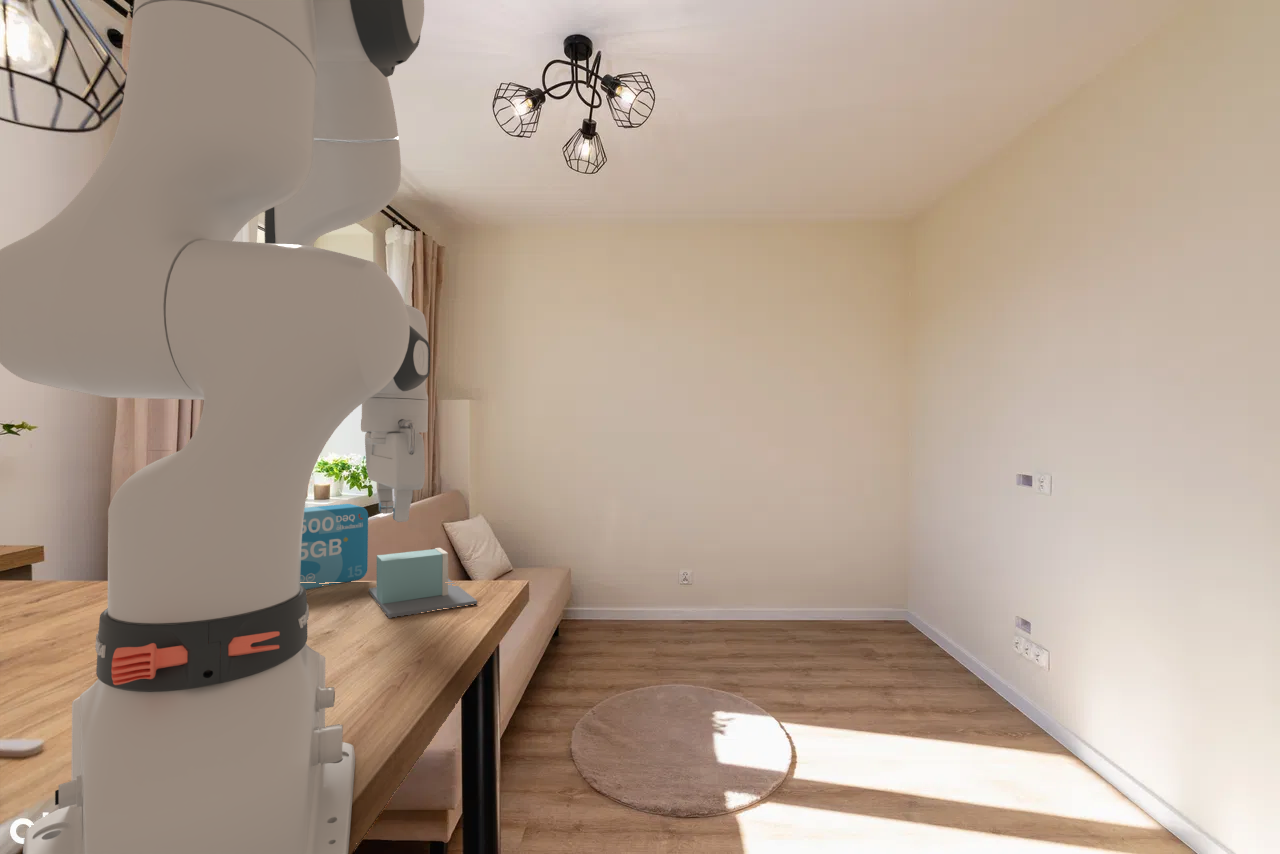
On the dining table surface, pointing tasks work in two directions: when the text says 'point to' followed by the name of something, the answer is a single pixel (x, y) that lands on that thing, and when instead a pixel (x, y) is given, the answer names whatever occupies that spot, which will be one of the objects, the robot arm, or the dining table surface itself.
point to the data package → (334, 545)
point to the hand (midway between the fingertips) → (393, 517)
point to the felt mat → (426, 602)
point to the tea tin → (412, 575)
